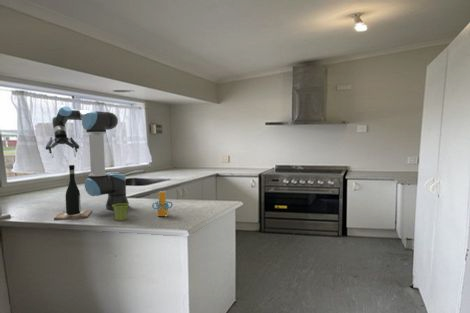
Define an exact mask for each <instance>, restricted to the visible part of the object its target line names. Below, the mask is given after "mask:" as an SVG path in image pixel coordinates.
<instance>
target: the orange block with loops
mask: <svg viewBox="0 0 470 313" xmlns="http://www.w3.org/2000/svg"><path fill="white" fill-rule="evenodd" d="M166 198H167V197H166V191H165V190H160V191H158V201H155V202H153V203H152V205H151V207H152V208H153V210H157V217H159V216H165V215H167V216H168V215H169V214H168V213H169V212H168V211H169V209H171V208H173V202H172V201H168V200H167V199H166ZM169 204H170V206H169ZM154 205H155V206H156V207H155V206H154ZM165 217H166V216H165Z"/></svg>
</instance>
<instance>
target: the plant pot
mask: <svg viewBox="0 0 470 313" xmlns="http://www.w3.org/2000/svg"><path fill="white" fill-rule="evenodd" d="M128 206H129V207H130V203H129V204H126V203H120V204H114V205H112V207H113V209H114V210H113V212H114V213H113V214H114V219H115V221H125V220H127V218H128V217H127V215H128V211H129V210H128V209H129V207H128Z"/></svg>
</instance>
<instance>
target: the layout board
mask: <svg viewBox="0 0 470 313" xmlns="http://www.w3.org/2000/svg"><path fill="white" fill-rule="evenodd" d="M92 211H93V210H92V209H85V210H81V212H80V213H79V214H75V215H68V214H67V213H66V211H60V212H59V213H58V214H57V215H56V216H54V217H53V221H62V220H74V219H75V220H77V219H87V218H89V216H90V215H91V213H92Z"/></svg>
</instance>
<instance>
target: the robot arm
mask: <svg viewBox="0 0 470 313" xmlns="http://www.w3.org/2000/svg"><path fill="white" fill-rule="evenodd" d="M70 120H71V121H81V126H82V128H83V129H84V130H86V131H85V132H86V134H87V135H88V140H89V163H90V164H89V166H90V173H89V174H88V175H87V178H86V179H85V181H84V190H85V191H86V194H88V195H89V196H90V197H99V196H103V195H107V199H106V203H105V209H106V210H110V211H111V210H112V211H114V209H113V207H112V205H114V204H120V203H126V204H129V206H128V208H129V207H130V203H129V201H128V196H127V185H126V183H127V180H126V175H124V174H120V173H107V172H106V165H105V164H106V163H105V162H106V161H105V158H106V157H105V141H104V140H105V137H104V135H105V134H106V133H107V131H109V130H113V129H115V128H117V126H118V124H119V119H118V117H117V115H116V114H114V113H113V112H109V111H96V110H91V111H90V110H87V109H74V108H73V109H72V107H70V106H67V105H61V106H60V108H59V109H58V112H57V114H56V115H55V116H53V117H52V121H51V122H52V127H53V134H54V138H53V137H50V138H49V141H48V143H47V144H46V145H45V150H46V151H47V150H48V151H49V152H48V153H49V154H51V158H52V159H53V158H54V151H53V149H54V148H55V147H56V146H57V145H67V146H68V147H70V148H71V149H73V156H74V158H76V157H77V153H78V150H80V145H79V144H78V143H77V142H76V141H75V140H74V139H73V137H71V136H70V137H69V138H68V134H67V129H66V123H67V122H68V121H70Z"/></svg>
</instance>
